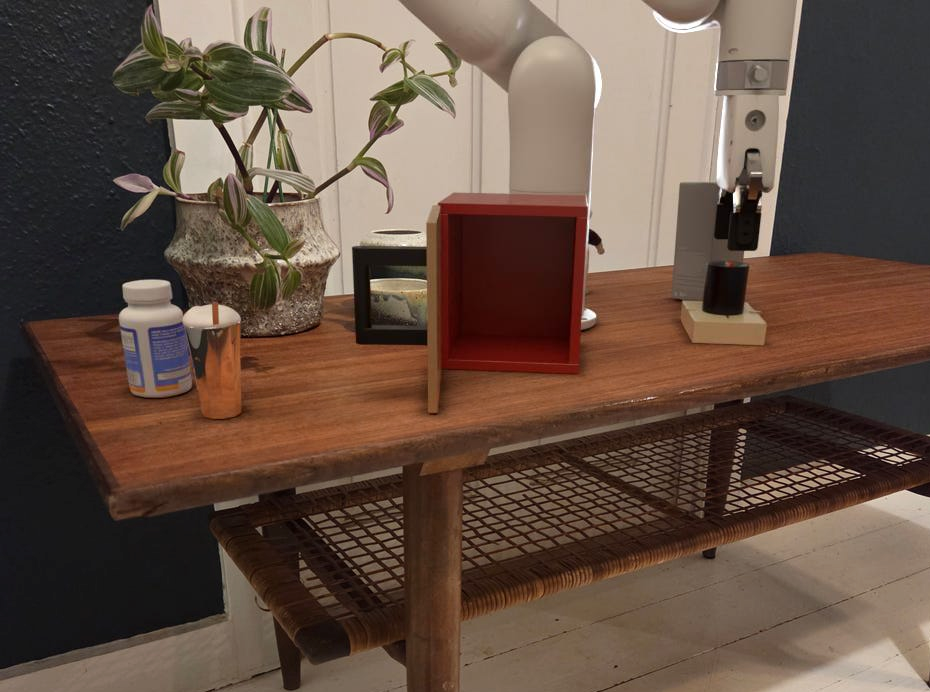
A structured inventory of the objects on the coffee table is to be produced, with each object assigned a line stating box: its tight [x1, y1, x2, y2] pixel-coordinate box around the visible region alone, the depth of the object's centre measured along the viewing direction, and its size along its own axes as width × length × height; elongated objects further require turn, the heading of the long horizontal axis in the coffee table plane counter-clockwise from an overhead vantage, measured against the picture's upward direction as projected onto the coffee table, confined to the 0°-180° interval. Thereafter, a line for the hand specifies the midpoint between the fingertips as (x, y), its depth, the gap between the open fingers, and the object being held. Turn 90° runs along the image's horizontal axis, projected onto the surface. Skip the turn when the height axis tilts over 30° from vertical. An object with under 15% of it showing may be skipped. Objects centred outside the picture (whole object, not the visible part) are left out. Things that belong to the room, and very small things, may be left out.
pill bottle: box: [118, 279, 193, 399], centre depth 79 cm, size 5×5×10 cm
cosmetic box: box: [670, 181, 745, 301], centre depth 121 cm, size 8×7×16 cm
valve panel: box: [680, 300, 768, 346], centre depth 105 cm, size 12×9×3 cm
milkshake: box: [182, 301, 242, 420], centre depth 72 cm, size 4×5×10 cm
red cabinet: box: [437, 192, 588, 375], centre depth 90 cm, size 12×14×16 cm
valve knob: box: [702, 261, 750, 315], centre depth 103 cm, size 5×5×6 cm
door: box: [351, 204, 443, 414], centre depth 78 cm, size 7×14×16 cm, turn 1°
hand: (734, 244), depth 101 cm, fingers open, 9 cm apart
